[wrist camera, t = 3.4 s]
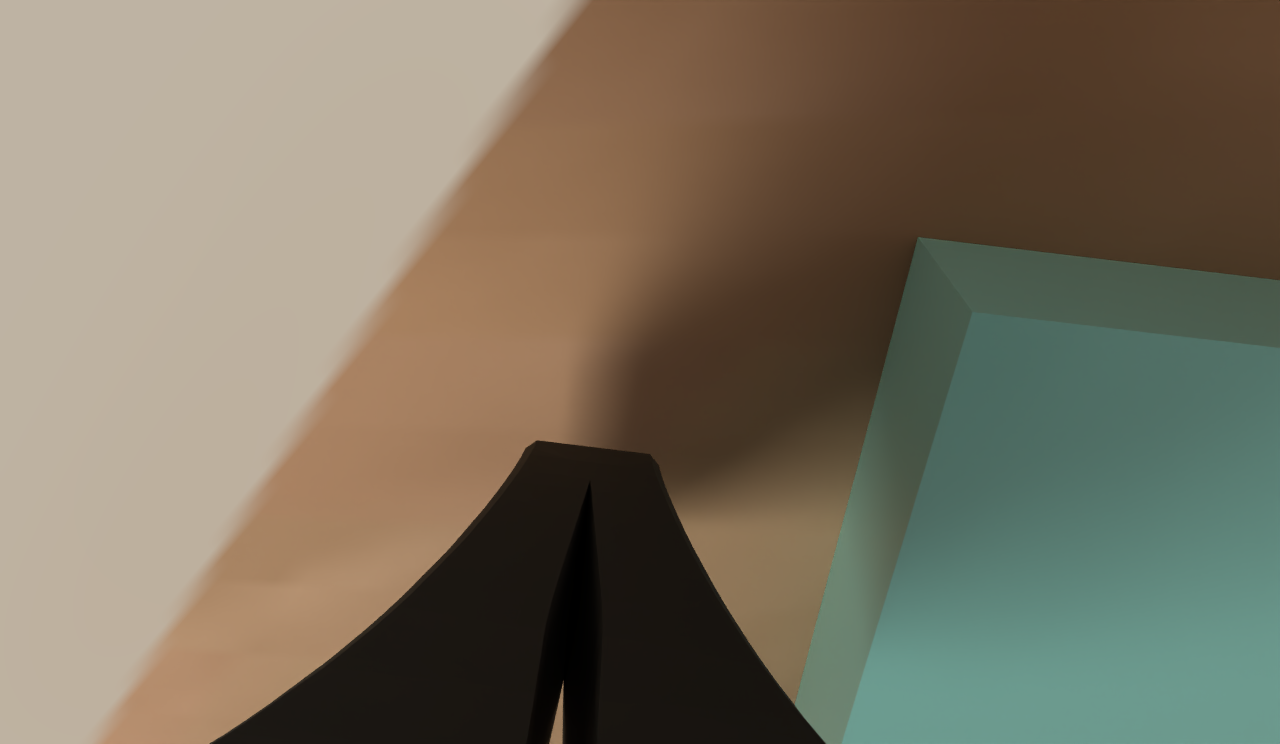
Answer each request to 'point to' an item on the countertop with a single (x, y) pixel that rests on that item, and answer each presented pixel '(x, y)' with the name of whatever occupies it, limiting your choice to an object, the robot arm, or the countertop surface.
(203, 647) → the countertop surface
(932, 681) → the tile
